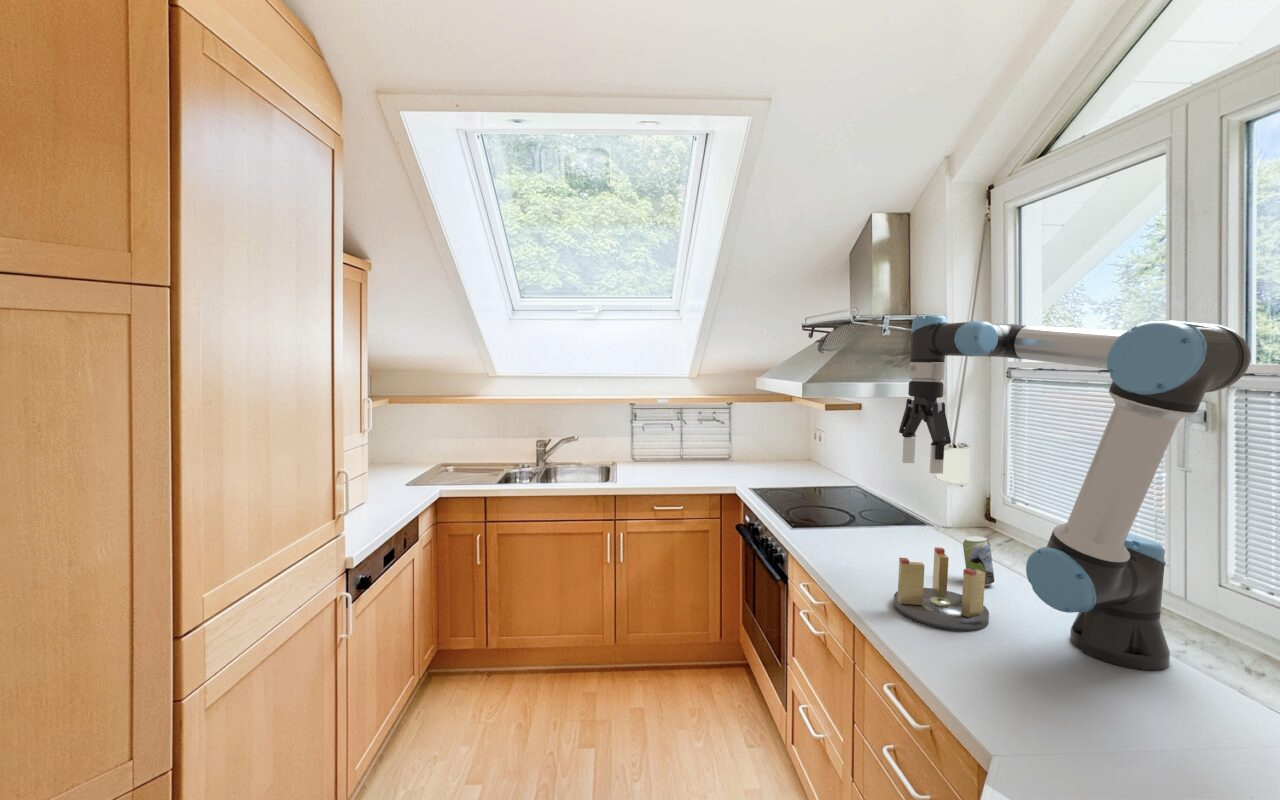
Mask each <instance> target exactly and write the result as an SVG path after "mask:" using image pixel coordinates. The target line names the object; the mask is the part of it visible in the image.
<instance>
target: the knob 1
mask: <svg viewBox="0 0 1280 800" xmlns="http://www.w3.org/2000/svg"><path fill="white" fill-rule="evenodd" d="M898 559H899V560H898V561H899V562H898V581H897V582H898V583H897V591H898V599H897V600H898V602H899V603H901V604H914V605H923V588H924V583H925V581H924V580H925V564H924V563H923V562H918V561H910V559H908V557H899V558H898Z"/></svg>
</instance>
